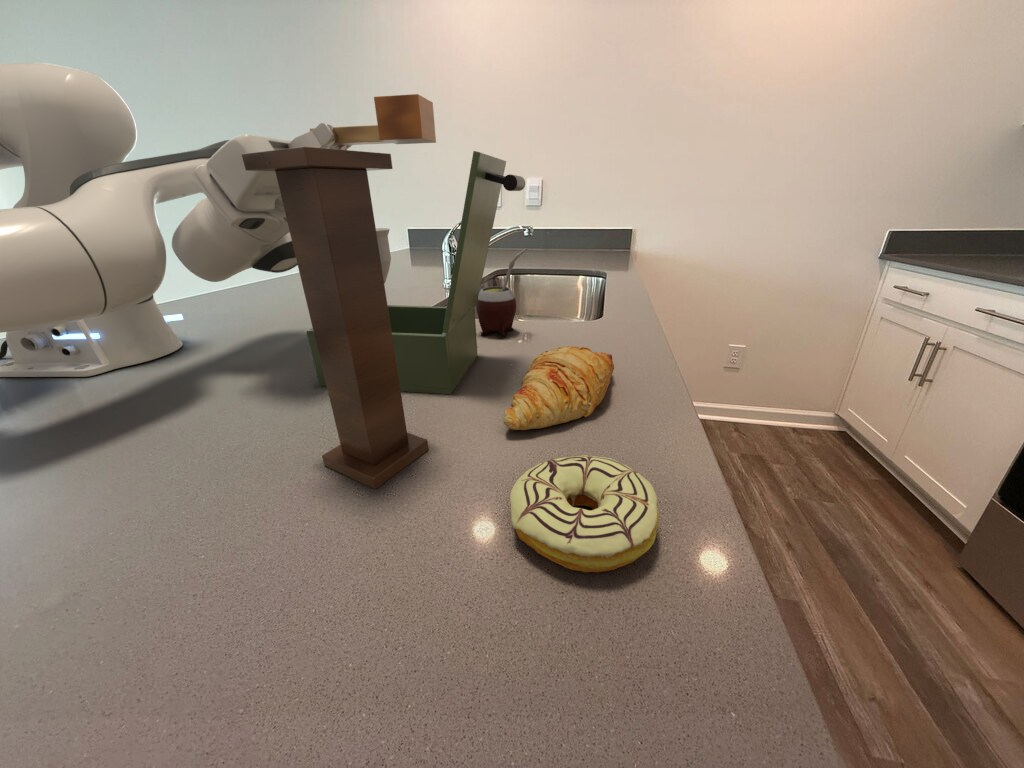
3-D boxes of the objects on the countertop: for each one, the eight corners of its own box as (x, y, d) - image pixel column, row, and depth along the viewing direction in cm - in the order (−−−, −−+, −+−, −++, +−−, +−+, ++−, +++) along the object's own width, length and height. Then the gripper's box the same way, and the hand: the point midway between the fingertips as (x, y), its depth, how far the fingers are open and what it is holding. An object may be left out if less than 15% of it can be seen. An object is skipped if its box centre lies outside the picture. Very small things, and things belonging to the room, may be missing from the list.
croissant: (529, 475, 42) (561, 429, 37) (465, 410, 45) (486, 359, 40) (621, 396, 57) (653, 355, 51) (567, 352, 60) (592, 308, 54)
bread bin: (319, 386, 55) (305, 331, 52) (368, 350, 67) (360, 304, 64) (450, 394, 52) (445, 336, 49) (477, 356, 64) (474, 307, 61)
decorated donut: (532, 471, 37) (533, 436, 36) (655, 494, 34) (661, 457, 33) (491, 559, 28) (489, 518, 27) (652, 602, 25) (661, 558, 24)
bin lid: (473, 150, 40) (515, 161, 39) (501, 159, 52) (533, 168, 51) (442, 332, 48) (476, 342, 48) (472, 304, 61) (499, 312, 60)
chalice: (398, 338, 72) (382, 231, 65) (360, 339, 73) (340, 232, 65) (408, 326, 79) (394, 227, 71) (373, 326, 79) (356, 228, 72)
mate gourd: (473, 330, 76) (467, 246, 69) (511, 324, 79) (509, 243, 72) (487, 342, 70) (482, 251, 63) (528, 335, 72) (528, 247, 66)
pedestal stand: (324, 465, 39) (241, 153, 28) (380, 431, 44) (329, 159, 33) (375, 489, 35) (304, 146, 24) (429, 449, 41) (390, 153, 30)
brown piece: (306, 143, 46) (297, 101, 45) (328, 147, 50) (321, 108, 49) (422, 138, 44) (418, 93, 42) (436, 142, 48) (432, 102, 46)
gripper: (328, 216, 62) (394, 163, 57) (219, 227, 44) (303, 150, 39) (301, 177, 61) (367, 118, 56) (176, 171, 42) (258, 83, 37)
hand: (340, 131), depth 47 cm, fingers closed on brown piece, 2 cm apart
